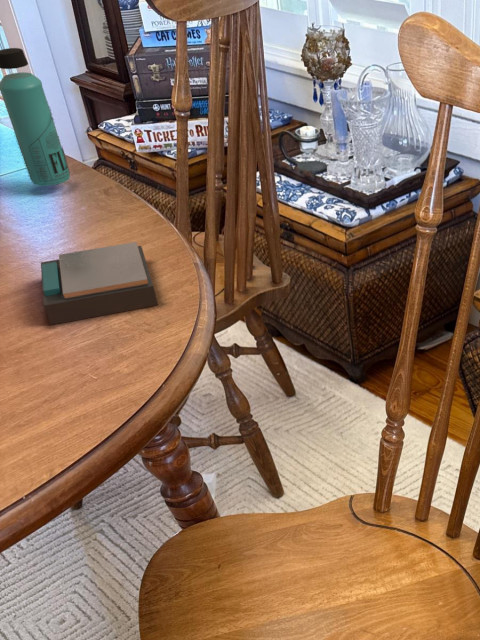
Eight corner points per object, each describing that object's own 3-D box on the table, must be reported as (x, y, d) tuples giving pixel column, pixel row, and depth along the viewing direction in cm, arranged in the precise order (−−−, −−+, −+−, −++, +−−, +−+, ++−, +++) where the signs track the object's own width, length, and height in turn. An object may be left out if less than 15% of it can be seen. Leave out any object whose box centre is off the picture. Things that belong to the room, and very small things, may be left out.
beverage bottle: (63, 196, 126) (18, 54, 113) (25, 195, 127) (-24, 54, 114) (81, 182, 131) (40, 44, 117) (45, 180, 132) (0, 44, 118)
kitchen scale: (50, 325, 95) (41, 299, 93) (47, 281, 104) (38, 256, 102) (158, 305, 98) (151, 279, 96) (146, 263, 107) (139, 239, 105)
